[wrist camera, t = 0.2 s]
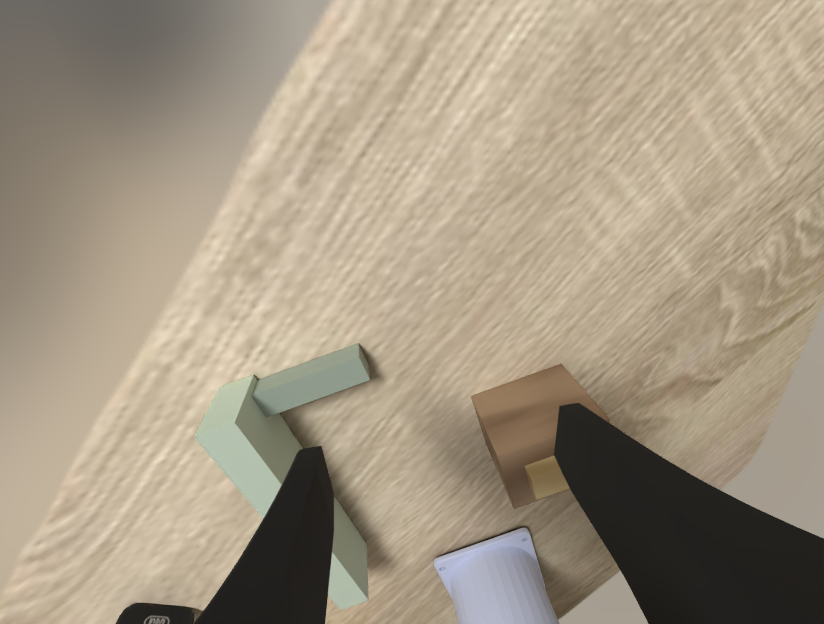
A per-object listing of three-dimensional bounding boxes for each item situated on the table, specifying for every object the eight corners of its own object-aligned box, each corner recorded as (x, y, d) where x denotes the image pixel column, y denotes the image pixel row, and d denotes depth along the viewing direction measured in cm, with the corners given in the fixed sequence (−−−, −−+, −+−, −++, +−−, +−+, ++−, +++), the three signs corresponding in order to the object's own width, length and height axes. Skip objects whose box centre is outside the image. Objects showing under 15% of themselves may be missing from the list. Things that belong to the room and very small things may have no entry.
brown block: (568, 413, 26) (623, 485, 21) (486, 443, 26) (519, 522, 21) (560, 363, 24) (618, 428, 19) (470, 395, 24) (503, 469, 19)
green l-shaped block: (441, 518, 28) (453, 570, 25) (341, 553, 29) (340, 610, 25) (355, 337, 21) (356, 378, 17) (219, 386, 21) (194, 437, 17)
